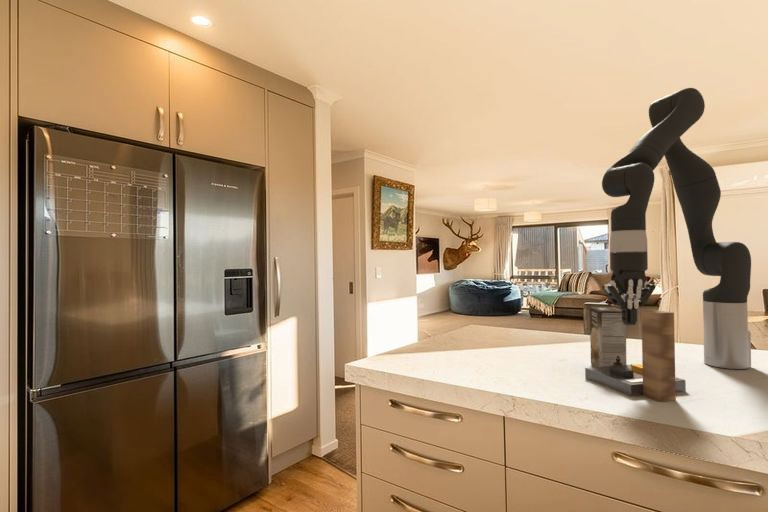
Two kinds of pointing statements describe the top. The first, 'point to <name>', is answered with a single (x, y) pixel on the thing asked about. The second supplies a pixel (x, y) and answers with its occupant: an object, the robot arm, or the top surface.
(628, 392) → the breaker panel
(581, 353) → the top surface
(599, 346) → the coffee box
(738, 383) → the top surface
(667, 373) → the walnut post
